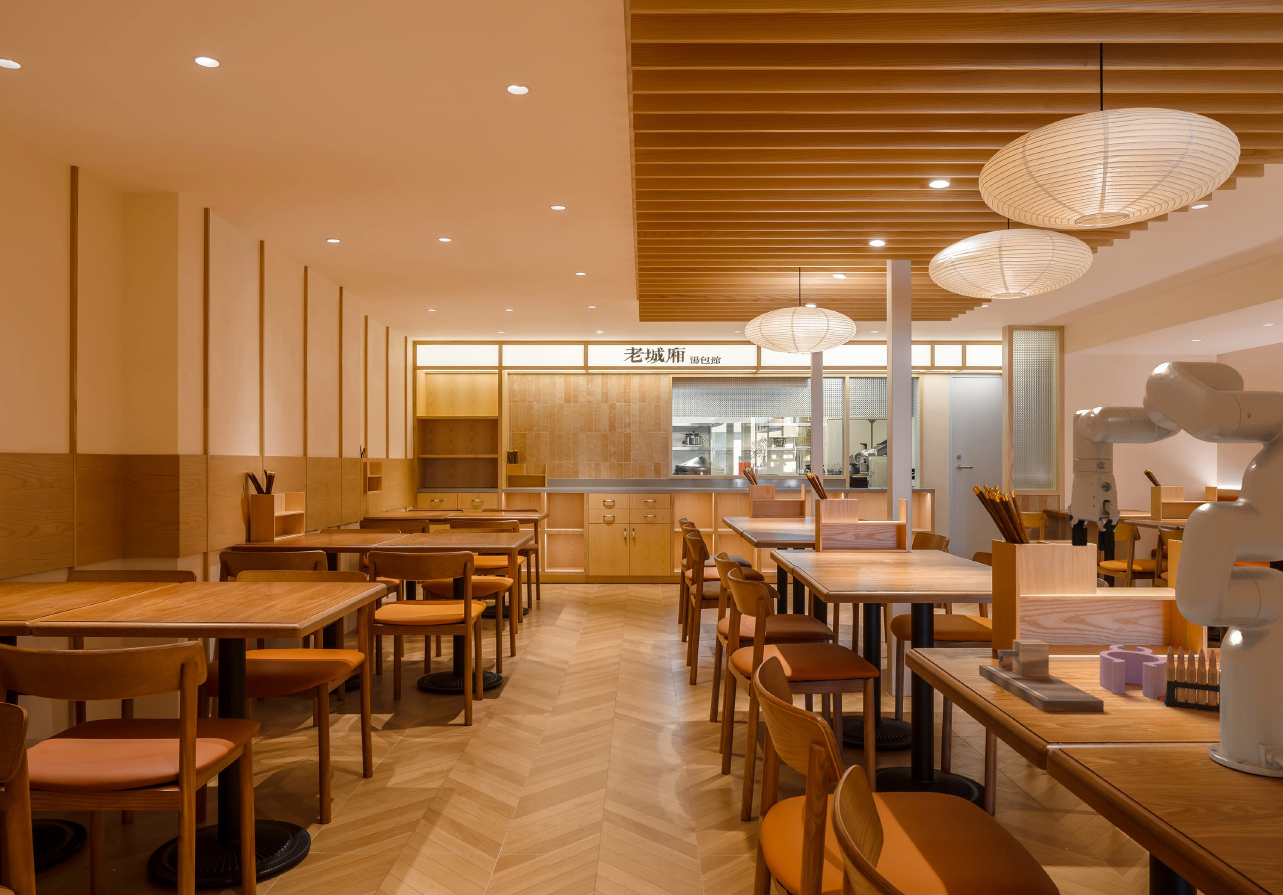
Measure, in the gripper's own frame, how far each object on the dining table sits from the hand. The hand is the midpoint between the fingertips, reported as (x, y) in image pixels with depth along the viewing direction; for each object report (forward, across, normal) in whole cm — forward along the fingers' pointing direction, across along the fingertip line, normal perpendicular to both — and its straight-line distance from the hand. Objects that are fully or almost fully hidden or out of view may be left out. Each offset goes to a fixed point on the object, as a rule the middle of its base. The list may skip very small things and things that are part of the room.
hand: (1092, 548), depth 174 cm
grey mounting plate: (+30, 0, +12) cm, 33 cm away
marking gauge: (+28, +6, +12) cm, 31 cm away
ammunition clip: (+31, -12, -14) cm, 36 cm away
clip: (+31, +5, -12) cm, 33 cm away
